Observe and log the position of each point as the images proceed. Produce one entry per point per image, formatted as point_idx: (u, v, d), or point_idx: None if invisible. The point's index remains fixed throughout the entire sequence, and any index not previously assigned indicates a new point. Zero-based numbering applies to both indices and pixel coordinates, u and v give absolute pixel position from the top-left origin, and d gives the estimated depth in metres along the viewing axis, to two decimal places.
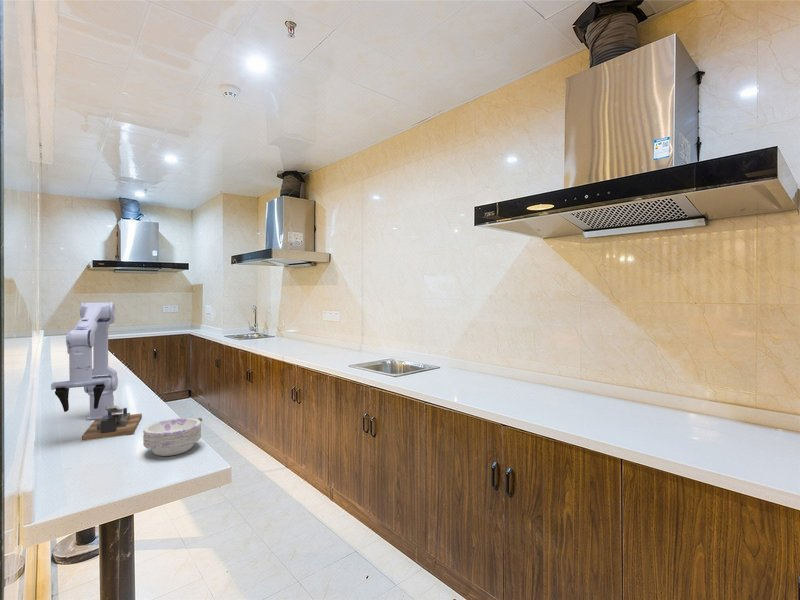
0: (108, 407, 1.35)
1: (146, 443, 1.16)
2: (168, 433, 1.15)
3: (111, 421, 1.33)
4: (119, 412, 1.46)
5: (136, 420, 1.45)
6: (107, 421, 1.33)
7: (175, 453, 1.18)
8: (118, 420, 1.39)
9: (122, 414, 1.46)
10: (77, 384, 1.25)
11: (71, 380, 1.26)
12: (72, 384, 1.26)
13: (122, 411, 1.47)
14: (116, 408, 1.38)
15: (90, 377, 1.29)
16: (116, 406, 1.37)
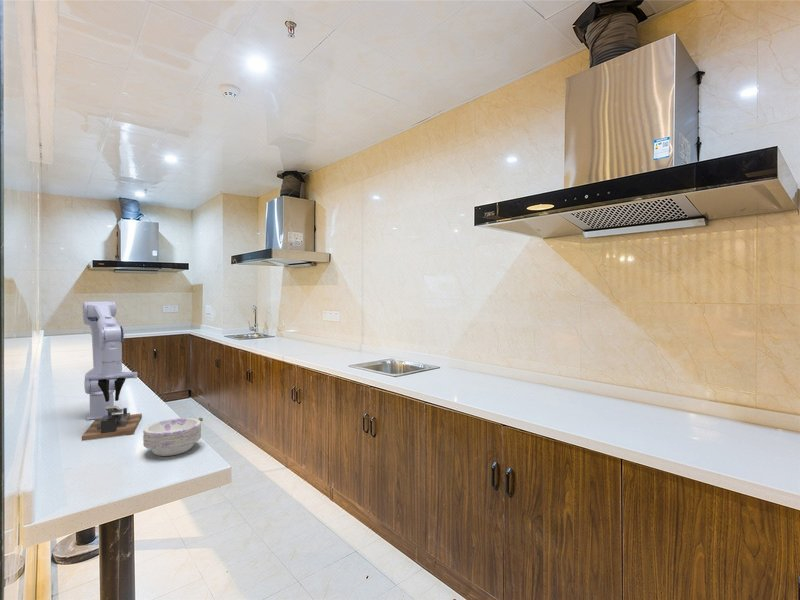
0: (108, 407, 1.35)
1: (146, 443, 1.16)
2: (168, 433, 1.15)
3: (111, 421, 1.33)
4: (119, 412, 1.46)
5: (136, 420, 1.45)
6: (107, 421, 1.33)
7: (175, 453, 1.18)
8: (118, 420, 1.39)
9: (122, 414, 1.46)
10: (109, 377, 1.35)
11: (103, 373, 1.36)
12: (104, 377, 1.35)
13: (122, 411, 1.47)
14: (116, 408, 1.38)
15: (120, 370, 1.39)
16: (116, 406, 1.37)
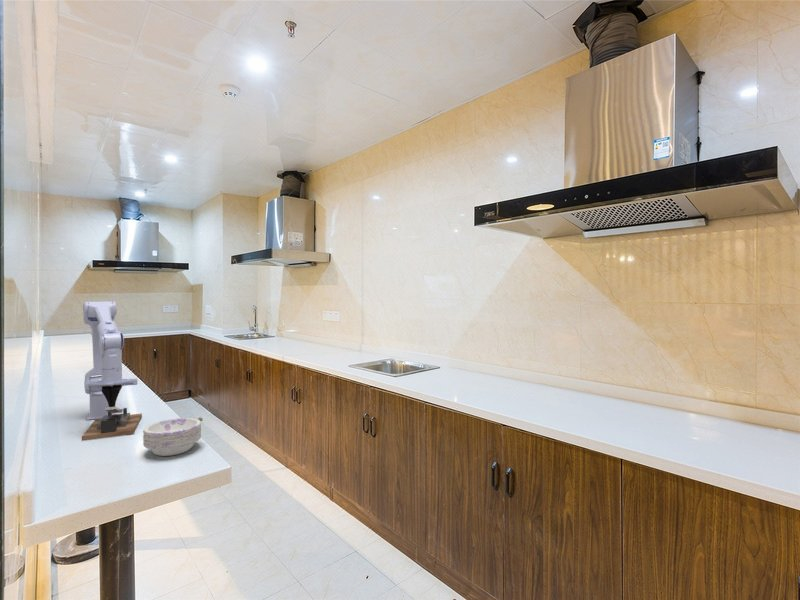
0: (108, 408, 1.35)
1: (146, 443, 1.16)
2: (168, 433, 1.15)
3: (111, 421, 1.33)
4: (119, 412, 1.46)
5: (136, 420, 1.45)
6: (107, 421, 1.33)
7: (175, 453, 1.18)
8: (118, 420, 1.39)
9: (122, 414, 1.46)
10: (109, 384, 1.35)
11: (103, 380, 1.35)
12: (104, 384, 1.35)
13: (122, 411, 1.47)
14: (116, 409, 1.37)
15: (120, 377, 1.38)
16: (116, 407, 1.37)
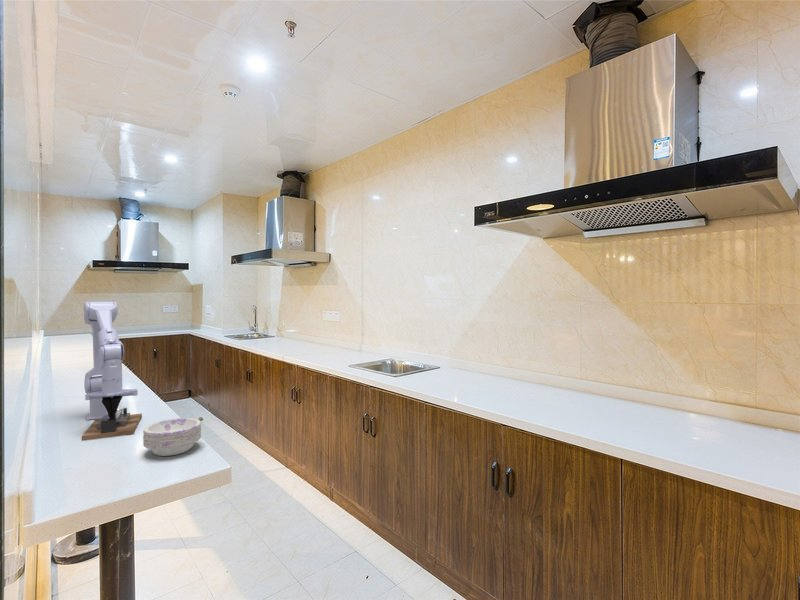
0: None
1: (146, 443, 1.16)
2: (168, 433, 1.15)
3: (111, 421, 1.33)
4: None
5: (136, 420, 1.45)
6: (107, 421, 1.33)
7: (175, 453, 1.18)
8: (118, 420, 1.39)
9: (122, 414, 1.46)
10: (109, 395, 1.35)
11: (103, 391, 1.36)
12: (104, 395, 1.35)
13: (122, 411, 1.48)
14: None
15: (120, 388, 1.39)
16: None
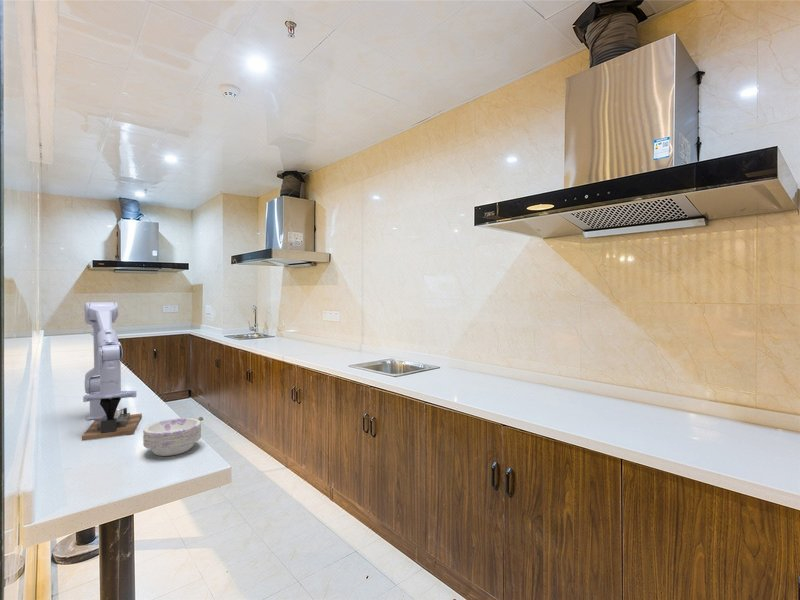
0: None
1: (146, 443, 1.16)
2: (168, 433, 1.15)
3: (111, 421, 1.33)
4: None
5: (136, 420, 1.45)
6: (107, 421, 1.33)
7: (175, 453, 1.18)
8: (118, 420, 1.39)
9: (122, 414, 1.46)
10: (108, 397, 1.33)
11: (102, 393, 1.33)
12: (103, 397, 1.33)
13: (122, 411, 1.48)
14: None
15: (119, 390, 1.36)
16: None
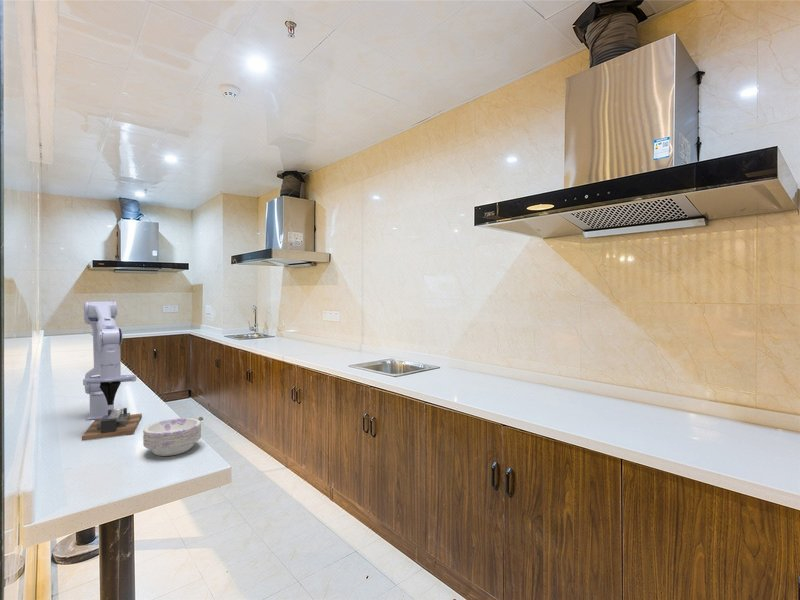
0: None
1: (146, 443, 1.16)
2: (168, 433, 1.15)
3: (111, 421, 1.33)
4: None
5: (136, 420, 1.45)
6: (107, 421, 1.33)
7: (175, 453, 1.18)
8: (118, 420, 1.39)
9: (122, 414, 1.46)
10: (107, 380, 1.32)
11: (101, 376, 1.33)
12: (103, 380, 1.33)
13: (122, 411, 1.48)
14: None
15: (119, 373, 1.36)
16: None
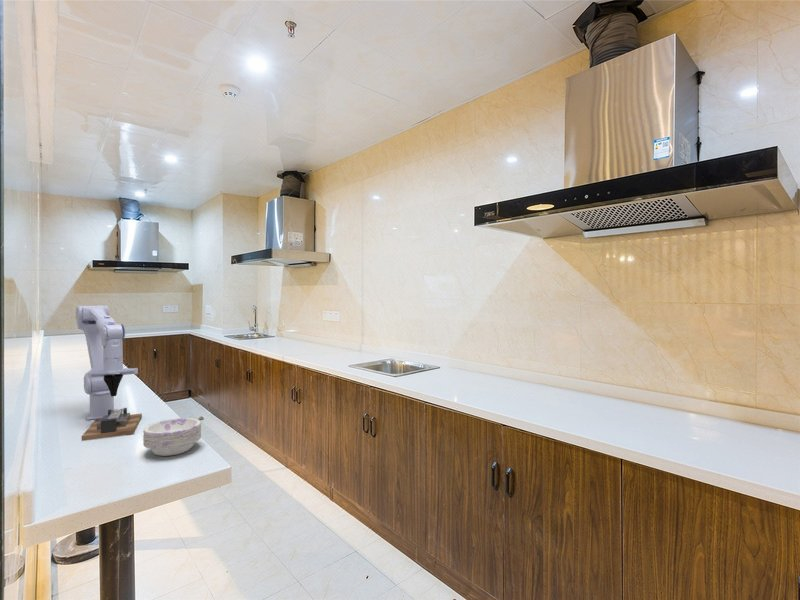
0: None
1: (146, 443, 1.16)
2: (168, 433, 1.15)
3: (111, 421, 1.33)
4: None
5: (136, 420, 1.45)
6: (107, 421, 1.33)
7: (175, 453, 1.18)
8: (118, 420, 1.39)
9: (122, 414, 1.46)
10: (111, 372, 1.41)
11: (105, 369, 1.42)
12: (106, 373, 1.42)
13: (122, 411, 1.48)
14: None
15: (121, 367, 1.45)
16: None
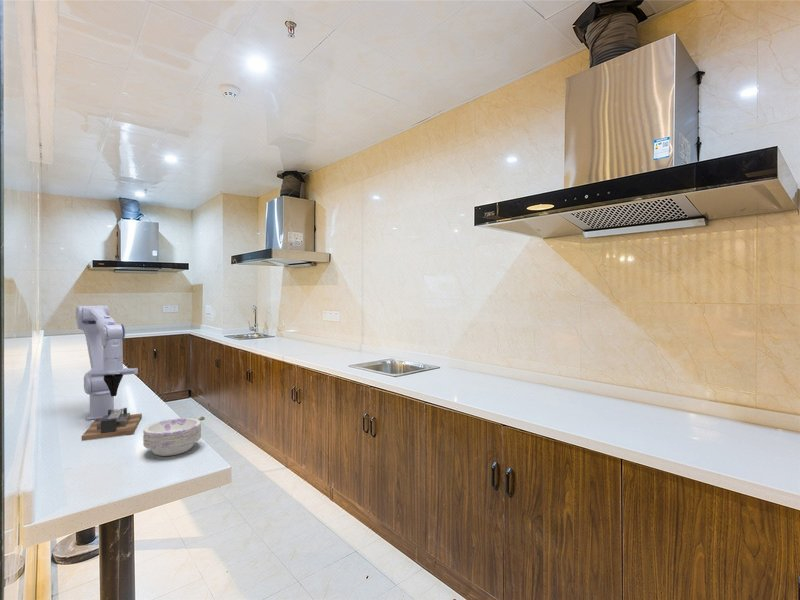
0: None
1: (146, 443, 1.16)
2: (168, 433, 1.15)
3: (111, 421, 1.33)
4: None
5: (136, 420, 1.45)
6: (107, 421, 1.33)
7: (175, 453, 1.18)
8: (118, 420, 1.39)
9: (122, 414, 1.46)
10: (111, 372, 1.41)
11: (105, 369, 1.42)
12: (106, 373, 1.42)
13: (122, 411, 1.48)
14: None
15: (121, 367, 1.45)
16: None
